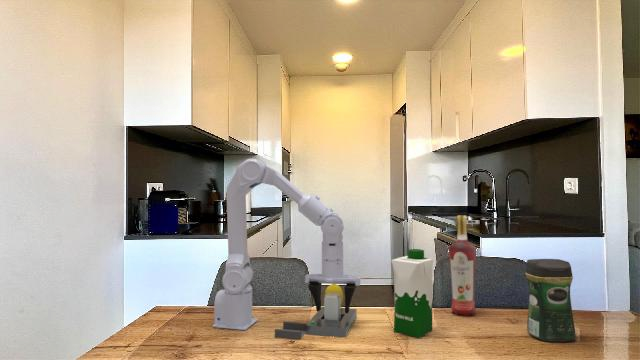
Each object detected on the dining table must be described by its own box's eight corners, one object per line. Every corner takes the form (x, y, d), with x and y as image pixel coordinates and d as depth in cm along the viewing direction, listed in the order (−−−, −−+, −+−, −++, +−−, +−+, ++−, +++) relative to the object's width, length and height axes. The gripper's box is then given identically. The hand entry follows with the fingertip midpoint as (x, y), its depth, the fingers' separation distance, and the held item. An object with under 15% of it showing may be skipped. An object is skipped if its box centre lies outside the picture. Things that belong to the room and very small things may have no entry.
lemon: (341, 313, 111) (341, 285, 111) (323, 312, 112) (322, 284, 112) (344, 308, 116) (344, 281, 116) (326, 307, 117) (326, 280, 117)
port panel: (305, 334, 95) (305, 323, 95) (322, 314, 110) (322, 305, 110) (345, 337, 92) (345, 326, 92) (356, 317, 108) (356, 307, 108)
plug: (324, 327, 100) (324, 295, 100) (327, 322, 103) (327, 292, 103) (337, 328, 99) (337, 296, 99) (340, 323, 102) (340, 293, 103)
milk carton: (437, 330, 97) (436, 250, 97) (420, 340, 90) (418, 255, 91) (406, 322, 103) (405, 247, 103) (388, 331, 96) (387, 251, 97)
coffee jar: (561, 331, 96) (559, 256, 97) (581, 343, 88) (579, 262, 89) (521, 330, 96) (520, 256, 97) (538, 343, 88) (536, 261, 89)
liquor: (479, 311, 112) (477, 215, 112) (474, 319, 105) (472, 216, 106) (453, 308, 115) (451, 214, 116) (447, 314, 109) (445, 216, 110)
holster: (274, 338, 93) (274, 329, 93) (284, 329, 99) (284, 321, 99) (300, 340, 91) (300, 332, 91) (308, 331, 97) (308, 323, 98)
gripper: (301, 260, 100) (302, 313, 99) (357, 263, 96) (357, 318, 96) (309, 256, 107) (309, 305, 106) (361, 258, 103) (361, 309, 102)
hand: (332, 311), depth 101 cm, fingers open, 7 cm apart
